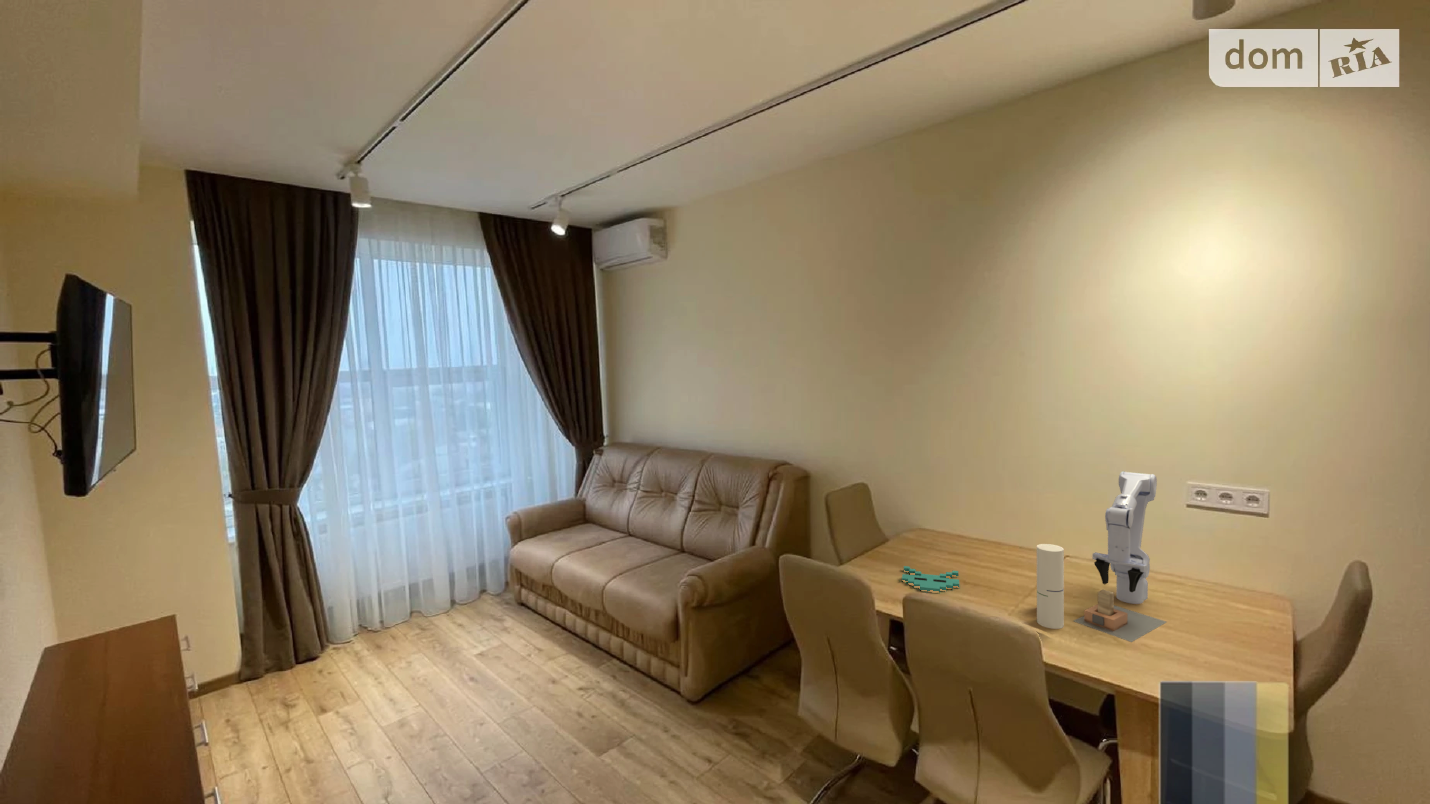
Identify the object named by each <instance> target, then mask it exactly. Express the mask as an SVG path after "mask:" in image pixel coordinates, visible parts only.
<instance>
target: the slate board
mask: <svg viewBox="0 0 1430 804" xmlns="http://www.w3.org/2000/svg"><path fill="white" fill-rule="evenodd" d="M1114 609H1117V610H1119V611H1122V612H1125V613H1128V617H1127V624H1126V625H1125V626H1123V627H1121V628H1119V629H1117V630H1115V631H1112V630H1109V629H1106V628H1103V627H1100V626H1097V625H1095V624H1092V623H1089V622H1086V621H1084V615H1083V616H1080V617H1077V618H1076V619H1074V620H1073V622H1075V623H1077V624H1080V625H1083V626H1085V627H1088V628H1091V629H1093V630H1096V631H1099V632H1102V633H1105V634H1107V635H1110V636H1113V637H1116V638H1119V639H1121V640H1125V641H1127V642H1130V643H1133V642H1135V641H1136V640H1138V639H1140V638H1142V637H1143V636H1145V635H1147V634H1149V633H1150V632H1152V631H1154V630H1155V629H1157V628H1159V627H1161V626H1163V625H1164V624H1166V623H1167V621H1165V620H1163V619H1159V618H1156V617H1154V616H1153V617H1152V616H1150V615H1147V614H1144V613H1140V612H1137V611H1134V610H1131V609H1127V608H1124V607H1122V606H1117V605H1115V604H1114Z"/></svg>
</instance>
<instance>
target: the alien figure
mask: <svg viewBox="0 0 1430 804" xmlns="http://www.w3.org/2000/svg"><path fill="white" fill-rule="evenodd" d="M904 570H905V571H909V573H915V575H909V573H907V574H906V573H902V575H901V581H902V580H905V581H908V583H913V584H914V586H920V589H919V591H920V590H927V591H930V590H933V591H939V592H941V591H940V589H942V590H946V587H947V588H952V589H953V590H954V588H953V586H958V587H959V588H960V579H957V578H953V577H952V575H956V576H959V575H960V574H959V570H952V571H949V572H948V571H946V572H945V573H939V575H938V574H926V573H922V571H919V570H918V571H916V569H915V568H911V567H910V566H907V565H903V571H904ZM946 576H950V577H952V579H949V578H946ZM908 583H907V584H908ZM914 586H913V587H914ZM946 591H947V590H946Z"/></svg>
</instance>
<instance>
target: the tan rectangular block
mask: <svg viewBox="0 0 1430 804" xmlns="http://www.w3.org/2000/svg"><path fill="white" fill-rule="evenodd" d="M1114 595H1115V592H1113V591H1110V590H1107V589H1101V590H1098V591H1097V604H1098V613H1102V614H1105V615H1108V616H1112V615H1114V605H1115V604H1114V602H1115V600H1114V599H1115V596H1114Z"/></svg>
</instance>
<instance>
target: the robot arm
mask: <svg viewBox="0 0 1430 804" xmlns="http://www.w3.org/2000/svg"><path fill="white" fill-rule="evenodd" d="M1157 485H1158V479H1157V476H1156V475H1155V474H1154V473H1151V474H1150V473H1139V472H1130V471H1123V470H1122V471H1121V472H1120V473H1119V475H1118V487H1119V490H1120V494H1118V495H1116V497H1115V499H1114V501H1113V503H1112V505H1111V506H1110V507H1107V508H1106V510H1105V514H1104V518H1105V520H1104V521H1105V524H1106V528H1105V529H1106V531H1107V554H1106V553H1099V552H1092V556H1091V557H1092V560H1094V564H1093V565H1094V566H1095V568H1096V570H1097V571H1098V573H1099V575H1100V578H1101V582H1102V585H1107V584H1109V580H1110V579H1109V571H1110V570H1111V571H1112V572H1113V573H1114V575H1115V576H1116V599H1118V601H1121V602H1124V603H1127V604H1133V605H1135V604H1136V605H1139V604H1143V603H1144V601H1146V600H1147V599H1148V597H1149V594H1148V593H1149V590H1148V589H1149V588H1148V587H1149V585H1148V584H1149V582H1148V580H1147V578H1148V577H1149V575H1150V569H1151V566H1150V560H1151V558H1150V557H1149V554H1147V553H1146V552H1145V551H1144V550H1143V549H1142V548H1141V547H1142V538H1143V531H1144V523H1145V515H1146V509H1147V507H1148V505H1149V502H1152V501H1154V500H1155V498H1156V494H1157Z"/></svg>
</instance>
